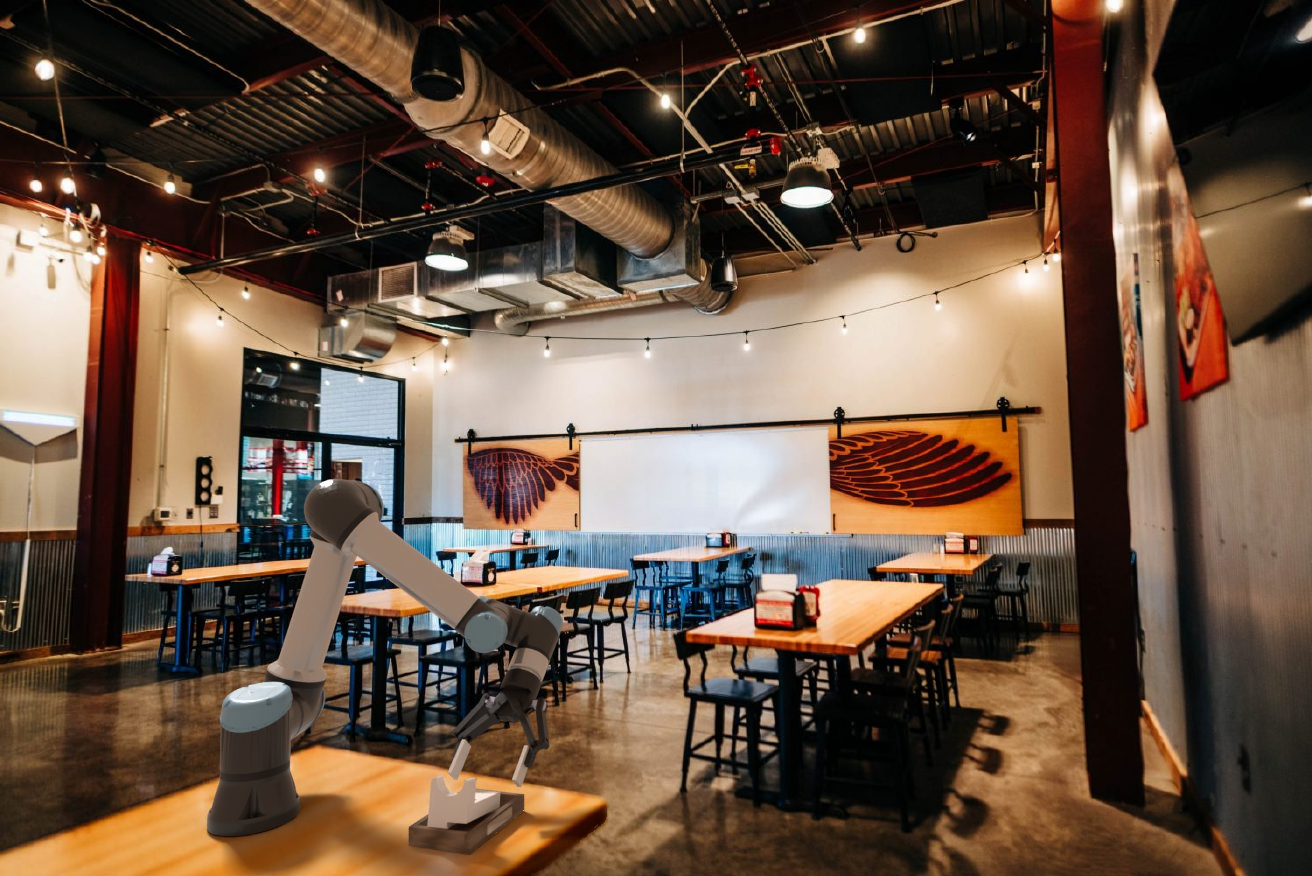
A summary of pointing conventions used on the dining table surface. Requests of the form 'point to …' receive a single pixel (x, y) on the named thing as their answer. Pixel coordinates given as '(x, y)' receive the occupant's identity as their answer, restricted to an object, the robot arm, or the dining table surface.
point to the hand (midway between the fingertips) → (483, 780)
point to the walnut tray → (467, 828)
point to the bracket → (459, 803)
